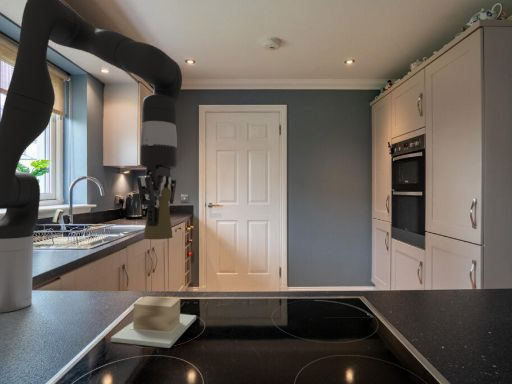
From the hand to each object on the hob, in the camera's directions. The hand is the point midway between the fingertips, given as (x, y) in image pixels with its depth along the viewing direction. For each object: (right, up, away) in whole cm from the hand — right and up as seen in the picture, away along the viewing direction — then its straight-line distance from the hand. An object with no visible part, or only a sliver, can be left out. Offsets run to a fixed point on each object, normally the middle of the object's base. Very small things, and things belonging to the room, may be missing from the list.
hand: (158, 224), depth 68 cm
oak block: (0, -21, -1) cm, 21 cm away
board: (0, -22, -1) cm, 22 cm away
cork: (0, -3, 0) cm, 3 cm away
